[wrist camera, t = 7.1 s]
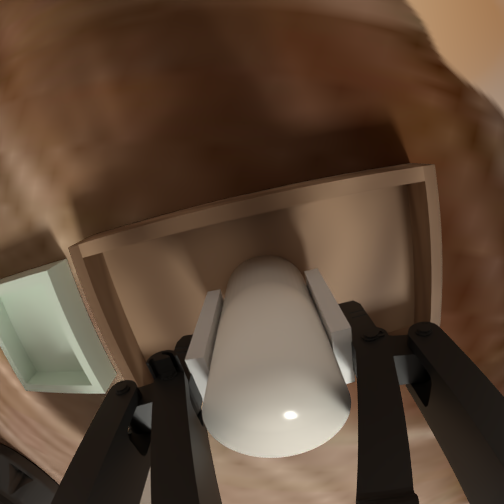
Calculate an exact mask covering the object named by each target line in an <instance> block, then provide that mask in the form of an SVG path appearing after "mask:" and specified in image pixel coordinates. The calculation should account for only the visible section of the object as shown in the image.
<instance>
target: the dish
mask: <svg viewBox="0 0 504 504" xmlns="http://www.w3.org/2000/svg"><path fill="white" fill-rule="evenodd" d="M0 346H1V348H2V350H3V352H4V354H5V356H6V358H7V360H8V361H9V363H10V365H11V367H12V368H13V370H14V372H15V374H16V375H17V377H18V379H19V380H20V382H21V384H22V385H23V387H24V388H25V390H26V391H37V392H53V393H84V394H105V393H106V391H107V390H108V388H109V386H110V385H111V383H112V381H113V379H114V378H115V376H116V372H115V370H114V368H113V366H112V364H111V362H110V360H109V358H108V356H107V354H106V352H105V350H104V348H103V346H102V344H101V342H100V340H99V338H98V336H97V334H96V331H95V329H94V327H93V325H92V322H91V320H90V318H89V316H88V313H87V311H86V309H85V306H84V304H83V301H82V299H81V296H80V294H79V291H78V289H77V286H76V283H75V281H74V278H73V275H72V273H71V270H70V267H69V264H68V261H67V259H63V260H60V261H57V262H53V263H50V264H47V265H43V266H40V267H37V268H34V269H30V270H27V271H24V272H21V273H18V274H15V275H12V276H8V277H5V278H2V279H0Z"/></svg>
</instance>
